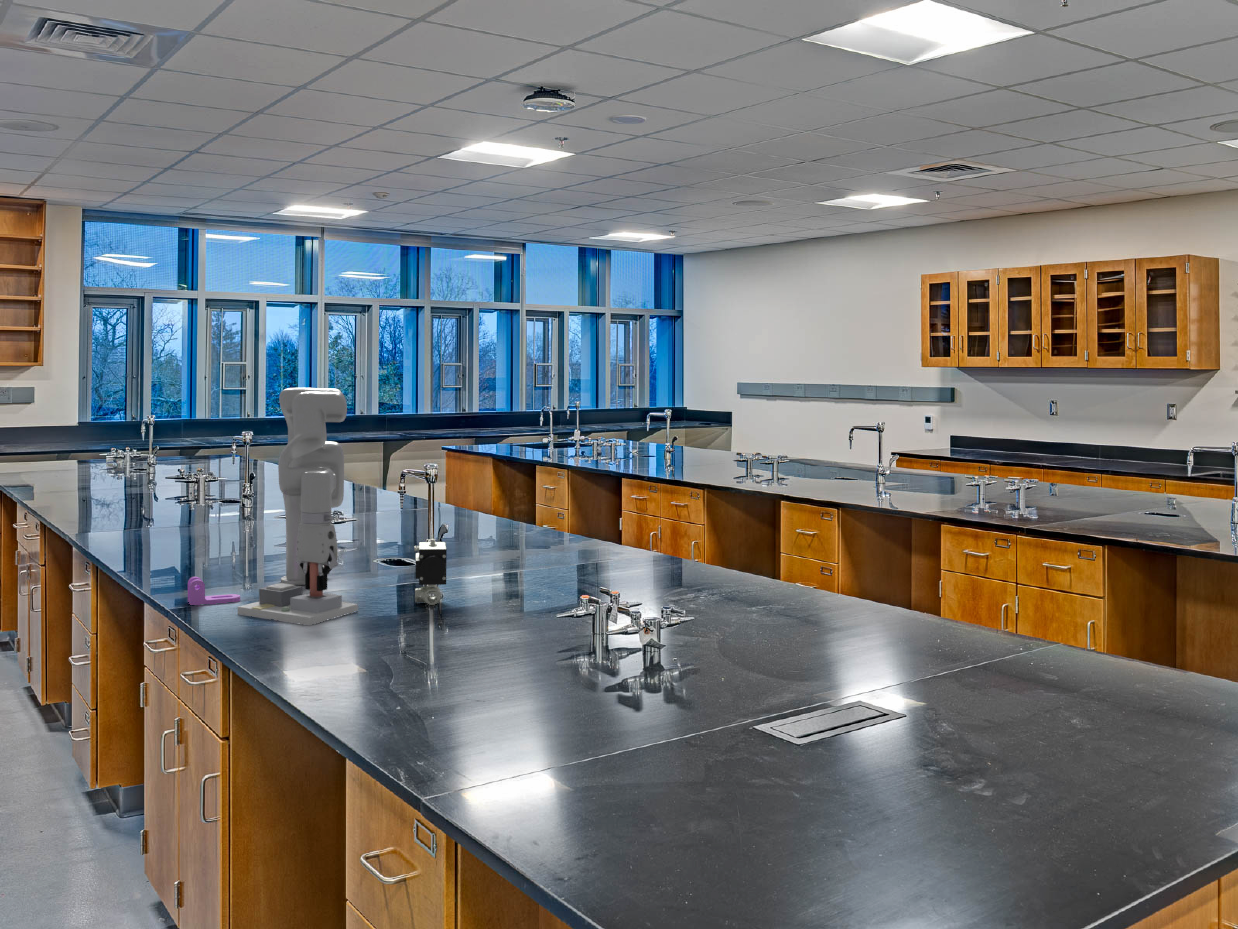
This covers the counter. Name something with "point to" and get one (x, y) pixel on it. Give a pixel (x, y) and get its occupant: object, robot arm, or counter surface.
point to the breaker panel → (295, 613)
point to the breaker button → (281, 586)
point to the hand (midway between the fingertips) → (316, 588)
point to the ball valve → (430, 570)
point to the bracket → (198, 594)
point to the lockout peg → (314, 580)
